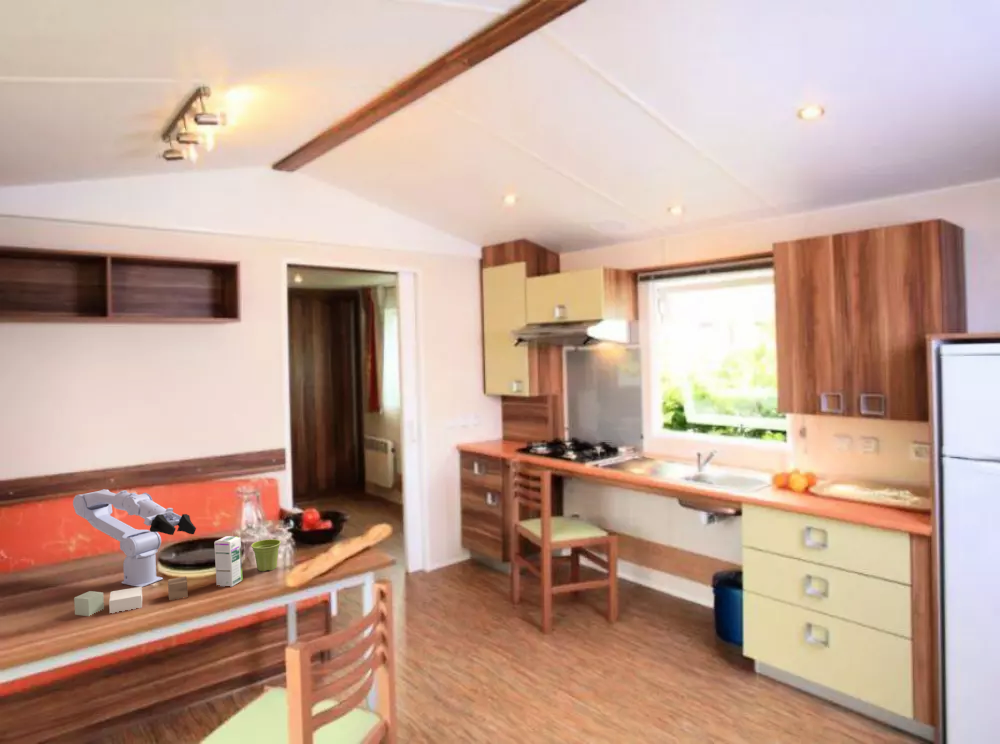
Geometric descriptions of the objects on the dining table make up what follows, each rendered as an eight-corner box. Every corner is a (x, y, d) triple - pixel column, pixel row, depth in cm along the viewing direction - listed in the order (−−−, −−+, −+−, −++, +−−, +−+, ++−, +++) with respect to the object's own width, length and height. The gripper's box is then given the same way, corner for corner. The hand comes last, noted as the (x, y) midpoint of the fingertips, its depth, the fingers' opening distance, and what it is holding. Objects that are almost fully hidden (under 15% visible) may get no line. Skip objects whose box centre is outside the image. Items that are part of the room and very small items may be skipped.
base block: (111, 604, 191) (110, 591, 191) (142, 599, 195) (141, 586, 194) (109, 614, 184) (109, 601, 184) (141, 608, 187) (141, 595, 187)
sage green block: (74, 614, 184) (74, 597, 183) (90, 607, 188) (89, 591, 188) (89, 616, 182) (88, 599, 182) (104, 609, 187) (103, 592, 187)
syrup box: (232, 587, 202) (230, 541, 202) (215, 586, 204) (213, 540, 203) (243, 580, 208) (241, 536, 207) (226, 579, 209) (225, 535, 209)
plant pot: (268, 574, 213) (267, 548, 213) (246, 571, 216) (245, 546, 216) (287, 565, 222) (286, 540, 221) (265, 562, 225) (264, 538, 225)
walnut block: (168, 595, 197) (167, 579, 196) (186, 592, 199) (186, 576, 199) (169, 601, 192) (168, 584, 192) (187, 597, 195) (187, 581, 195)
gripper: (140, 502, 197) (168, 519, 192) (180, 503, 210) (207, 519, 205) (131, 524, 197) (159, 541, 191) (171, 523, 210) (199, 540, 204)
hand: (184, 531), depth 198 cm, fingers open, 7 cm apart
